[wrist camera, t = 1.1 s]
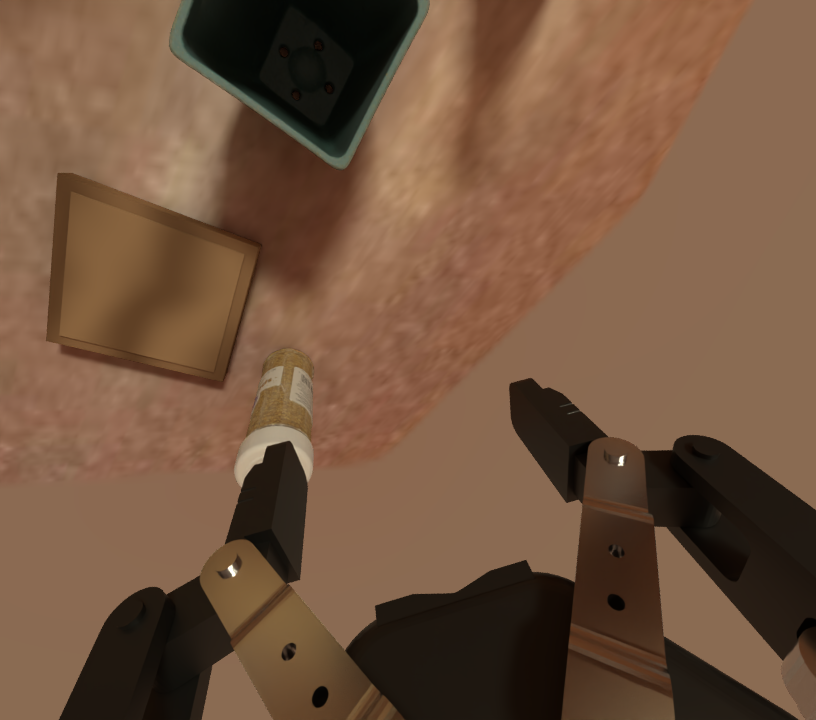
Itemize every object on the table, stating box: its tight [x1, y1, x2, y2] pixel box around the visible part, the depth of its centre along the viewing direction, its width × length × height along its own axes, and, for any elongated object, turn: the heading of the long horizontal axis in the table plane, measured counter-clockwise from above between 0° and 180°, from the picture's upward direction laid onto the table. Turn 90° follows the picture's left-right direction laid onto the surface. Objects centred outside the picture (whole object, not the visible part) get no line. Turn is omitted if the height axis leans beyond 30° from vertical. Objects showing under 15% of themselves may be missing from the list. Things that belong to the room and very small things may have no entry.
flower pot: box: [169, 0, 430, 170], centre depth 20 cm, size 9×9×9 cm
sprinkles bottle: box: [234, 348, 314, 488], centre depth 27 cm, size 5×5×14 cm
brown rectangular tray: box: [46, 173, 261, 382], centre depth 27 cm, size 12×12×2 cm
